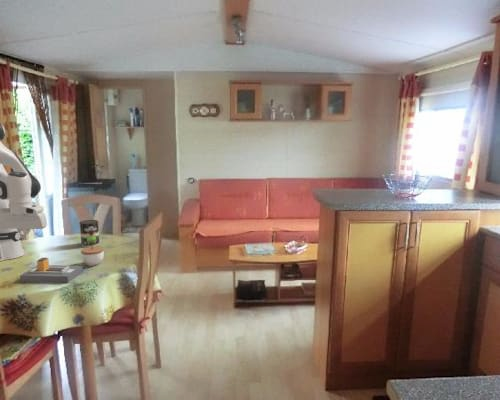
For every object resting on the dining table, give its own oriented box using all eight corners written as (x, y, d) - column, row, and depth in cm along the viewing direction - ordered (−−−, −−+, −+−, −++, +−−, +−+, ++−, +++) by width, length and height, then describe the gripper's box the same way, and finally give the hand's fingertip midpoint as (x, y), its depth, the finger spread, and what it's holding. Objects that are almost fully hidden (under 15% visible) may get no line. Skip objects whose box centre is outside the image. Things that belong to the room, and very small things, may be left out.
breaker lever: (37, 271, 169) (36, 260, 168) (43, 268, 173) (42, 257, 172) (44, 271, 169) (43, 260, 168) (49, 268, 172) (48, 257, 172)
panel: (20, 281, 165) (19, 272, 164) (38, 271, 178) (37, 262, 177) (68, 282, 164) (67, 273, 163) (82, 271, 177) (82, 263, 176)
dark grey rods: (47, 269, 180) (46, 266, 180) (50, 267, 183) (50, 264, 183) (80, 270, 179) (80, 267, 179) (83, 267, 182) (83, 265, 182)
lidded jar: (78, 263, 188) (77, 246, 186) (98, 258, 196) (97, 241, 194) (88, 269, 181) (86, 250, 179) (108, 263, 189) (107, 246, 187)
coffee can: (101, 245, 219) (99, 222, 216) (82, 248, 213) (81, 224, 211) (98, 241, 227) (96, 218, 225) (79, 243, 222) (78, 221, 219)
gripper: (-6, 209, 163) (-3, 239, 165) (38, 210, 162) (42, 240, 165) (4, 206, 169) (7, 235, 172) (47, 207, 168) (50, 236, 171)
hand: (24, 237), depth 168 cm, fingers closed
